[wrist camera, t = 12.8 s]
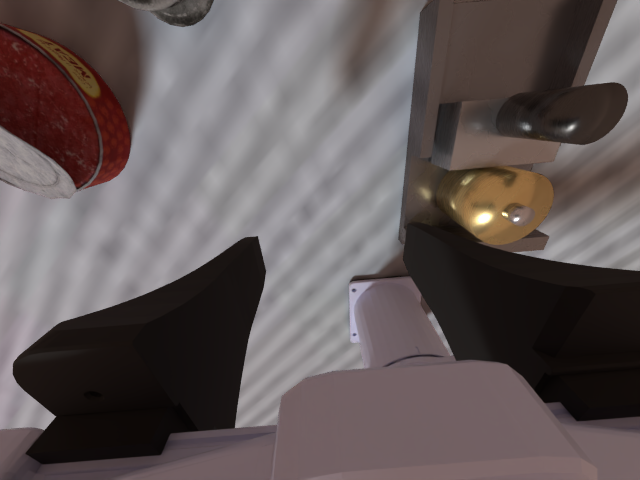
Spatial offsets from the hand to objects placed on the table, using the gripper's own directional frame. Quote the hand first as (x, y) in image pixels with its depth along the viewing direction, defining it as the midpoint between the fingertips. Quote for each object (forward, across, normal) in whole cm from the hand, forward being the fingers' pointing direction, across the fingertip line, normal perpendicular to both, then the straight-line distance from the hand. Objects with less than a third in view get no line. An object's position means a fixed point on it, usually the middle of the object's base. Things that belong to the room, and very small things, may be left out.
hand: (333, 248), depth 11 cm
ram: (+9, -12, -4) cm, 15 cm away
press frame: (+10, -12, -2) cm, 16 cm away
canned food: (+10, +19, -7) cm, 23 cm away
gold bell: (+9, -12, +1) cm, 15 cm away
